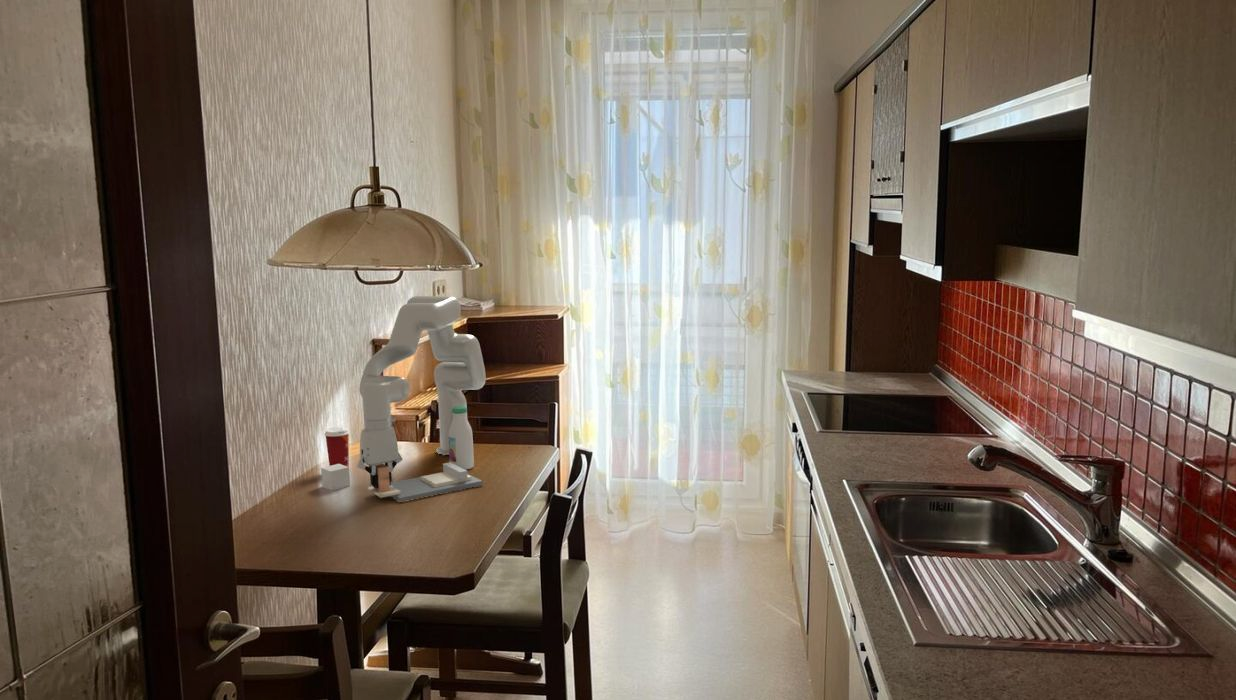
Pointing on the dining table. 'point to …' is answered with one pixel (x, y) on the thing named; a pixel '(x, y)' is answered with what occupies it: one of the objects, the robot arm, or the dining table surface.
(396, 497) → the holder
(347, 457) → the paper cup
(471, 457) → the milk bottle
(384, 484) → the stub
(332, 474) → the white cube
